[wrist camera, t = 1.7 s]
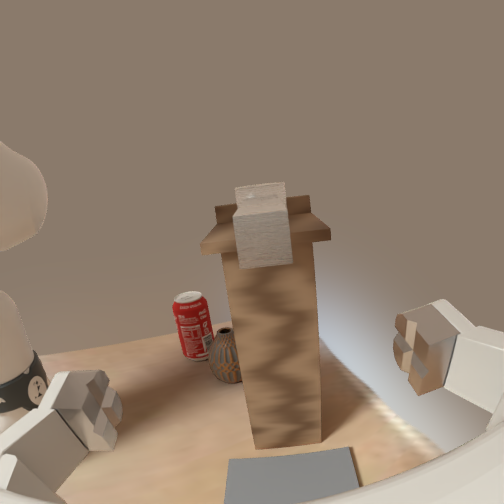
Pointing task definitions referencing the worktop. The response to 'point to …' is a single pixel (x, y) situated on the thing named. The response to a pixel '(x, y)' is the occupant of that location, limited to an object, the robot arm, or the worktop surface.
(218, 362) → the vase
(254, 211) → the steel link
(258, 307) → the brown boxy piece
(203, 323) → the beverage can
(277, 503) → the slate mat
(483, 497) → the robot arm
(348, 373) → the worktop surface
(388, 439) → the worktop surface
